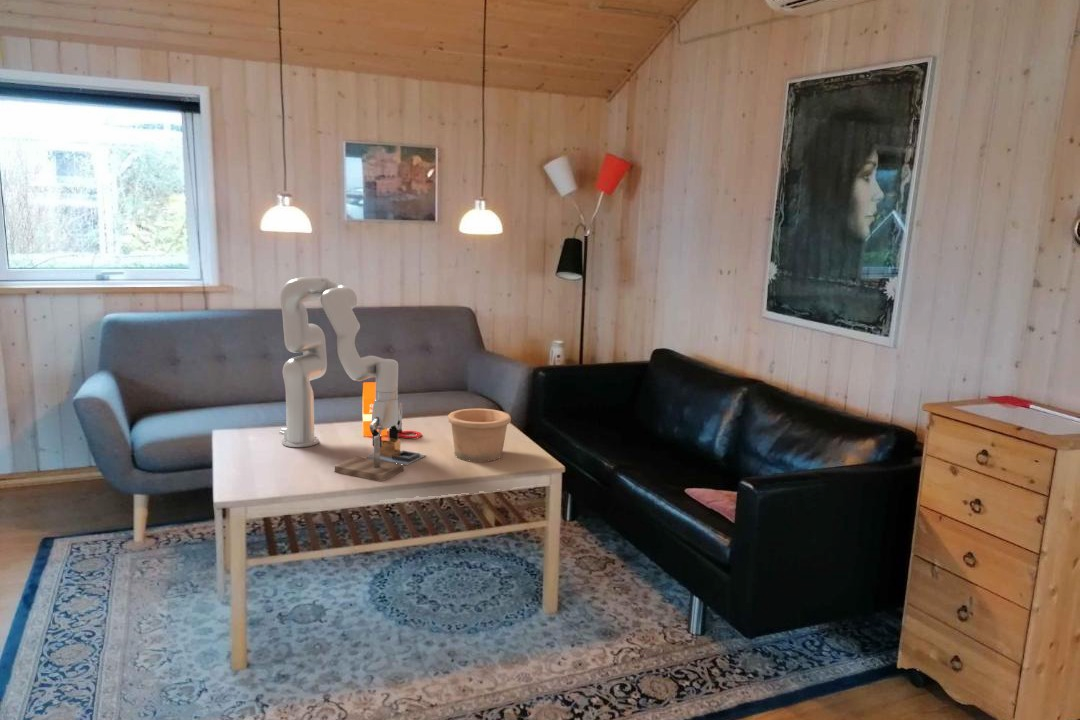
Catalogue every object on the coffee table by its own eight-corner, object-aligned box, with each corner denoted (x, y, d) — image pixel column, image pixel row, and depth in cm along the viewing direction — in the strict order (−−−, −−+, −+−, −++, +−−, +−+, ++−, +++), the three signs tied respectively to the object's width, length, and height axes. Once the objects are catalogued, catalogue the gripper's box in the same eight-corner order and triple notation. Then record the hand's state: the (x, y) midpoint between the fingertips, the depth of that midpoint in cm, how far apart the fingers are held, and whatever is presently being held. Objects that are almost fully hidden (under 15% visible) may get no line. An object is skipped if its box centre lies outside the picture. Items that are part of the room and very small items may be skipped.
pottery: (450, 465, 253) (451, 424, 251) (445, 446, 274) (445, 408, 272) (514, 463, 258) (515, 423, 255) (503, 445, 279) (504, 407, 276)
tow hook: (422, 434, 291) (398, 432, 290) (424, 402, 288) (400, 400, 288) (420, 440, 282) (395, 438, 282) (422, 407, 280) (397, 405, 280)
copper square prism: (374, 455, 259) (374, 440, 258) (386, 450, 265) (386, 435, 264) (408, 462, 253) (409, 446, 252) (419, 456, 260) (419, 441, 259)
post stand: (334, 472, 242) (334, 435, 239) (357, 462, 252) (357, 427, 250) (381, 481, 235) (381, 444, 233) (402, 470, 246) (403, 435, 243)
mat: (366, 458, 257) (366, 457, 257) (386, 449, 268) (386, 448, 268) (406, 465, 251) (406, 464, 251) (425, 456, 262) (425, 455, 262)
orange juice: (387, 435, 285) (387, 384, 282) (363, 436, 283) (363, 384, 279) (385, 430, 292) (386, 380, 289) (362, 431, 290) (362, 380, 287)
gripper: (391, 389, 267) (390, 435, 270) (361, 398, 251) (361, 447, 254) (409, 392, 264) (408, 439, 267) (380, 401, 248) (379, 451, 251)
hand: (385, 443), depth 260 cm, fingers open, 9 cm apart
